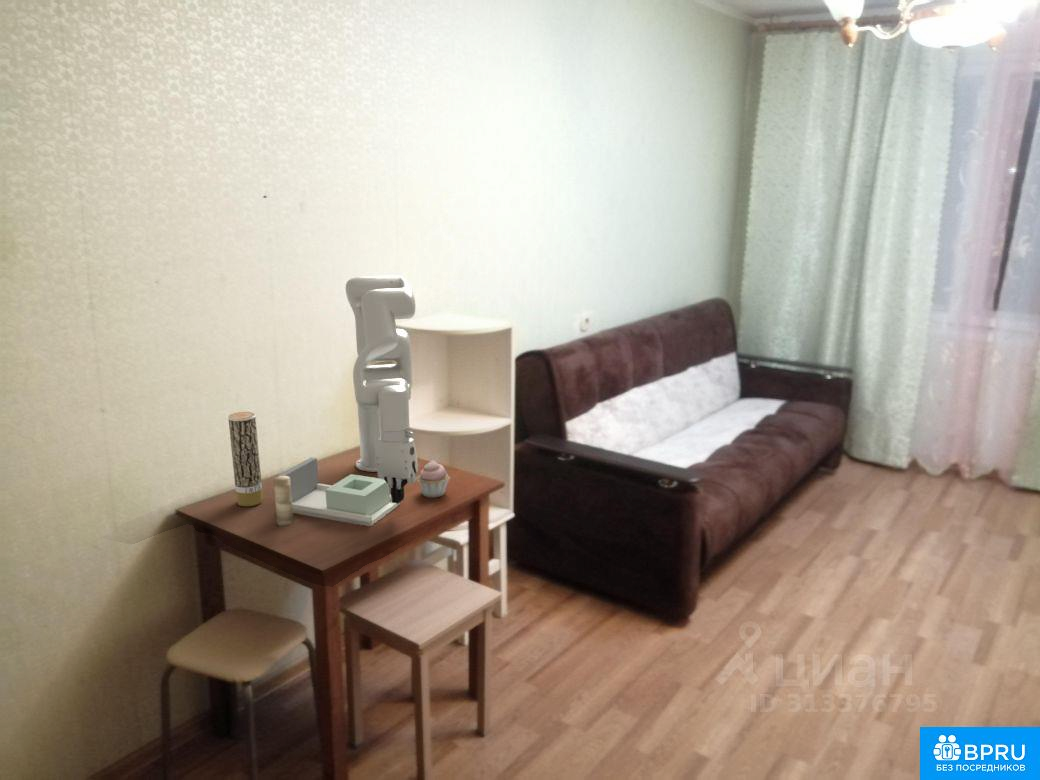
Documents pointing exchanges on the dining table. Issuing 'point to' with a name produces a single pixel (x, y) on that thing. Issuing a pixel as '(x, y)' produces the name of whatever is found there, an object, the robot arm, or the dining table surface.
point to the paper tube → (245, 458)
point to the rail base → (323, 497)
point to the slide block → (358, 494)
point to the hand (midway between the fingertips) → (397, 501)
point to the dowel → (283, 500)
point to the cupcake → (433, 480)
